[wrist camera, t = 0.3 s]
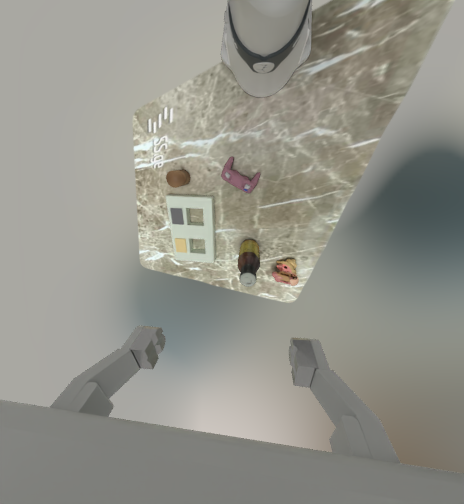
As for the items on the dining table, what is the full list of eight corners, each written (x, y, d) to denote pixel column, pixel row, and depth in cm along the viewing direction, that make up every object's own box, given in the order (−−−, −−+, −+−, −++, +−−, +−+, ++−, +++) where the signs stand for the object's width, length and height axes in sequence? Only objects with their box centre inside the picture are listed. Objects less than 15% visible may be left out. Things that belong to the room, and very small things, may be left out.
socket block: (170, 194, 54) (164, 196, 51) (214, 196, 52) (211, 198, 49) (178, 255, 64) (174, 260, 61) (215, 258, 63) (213, 263, 60)
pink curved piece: (225, 168, 50) (216, 180, 46) (231, 153, 46) (222, 165, 42) (255, 185, 51) (248, 199, 47) (262, 172, 47) (256, 186, 43)
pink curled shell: (281, 249, 58) (307, 262, 52) (287, 263, 66) (310, 275, 59) (264, 270, 57) (288, 286, 51) (272, 281, 65) (294, 296, 58)
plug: (176, 169, 50) (165, 170, 44) (189, 169, 50) (180, 171, 44) (178, 184, 52) (167, 187, 46) (190, 184, 52) (182, 187, 46)
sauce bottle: (254, 257, 60) (253, 296, 43) (237, 250, 60) (230, 286, 43) (262, 241, 57) (265, 276, 40) (245, 234, 57) (240, 266, 39)
